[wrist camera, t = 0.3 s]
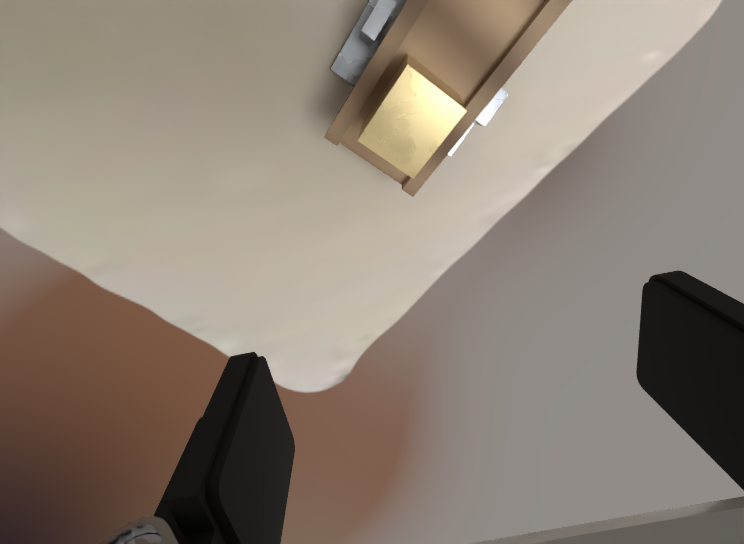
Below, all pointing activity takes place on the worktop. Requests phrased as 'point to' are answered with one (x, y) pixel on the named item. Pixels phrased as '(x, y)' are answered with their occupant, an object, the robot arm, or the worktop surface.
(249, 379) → the robot arm
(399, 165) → the block
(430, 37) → the board
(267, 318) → the worktop surface
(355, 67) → the pivot stand
